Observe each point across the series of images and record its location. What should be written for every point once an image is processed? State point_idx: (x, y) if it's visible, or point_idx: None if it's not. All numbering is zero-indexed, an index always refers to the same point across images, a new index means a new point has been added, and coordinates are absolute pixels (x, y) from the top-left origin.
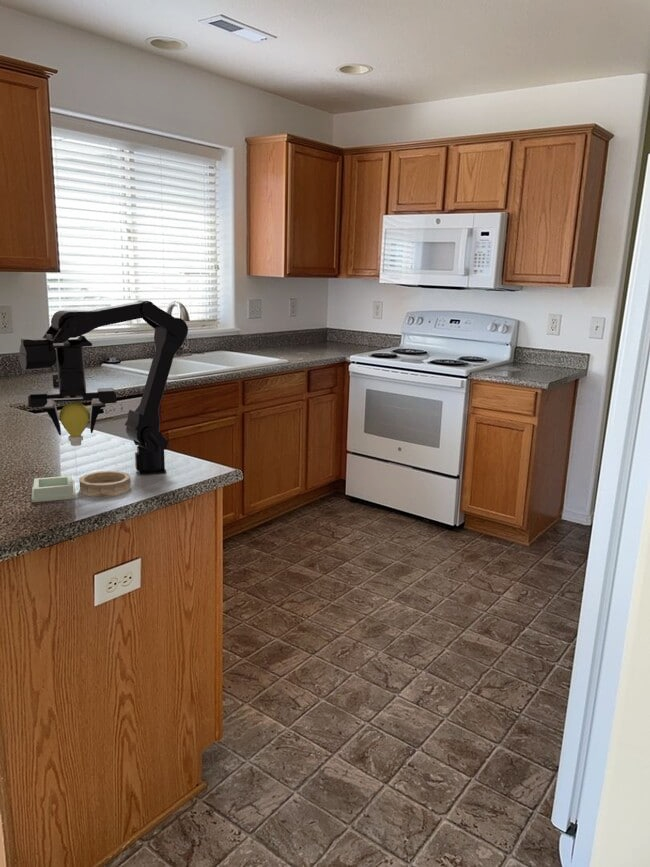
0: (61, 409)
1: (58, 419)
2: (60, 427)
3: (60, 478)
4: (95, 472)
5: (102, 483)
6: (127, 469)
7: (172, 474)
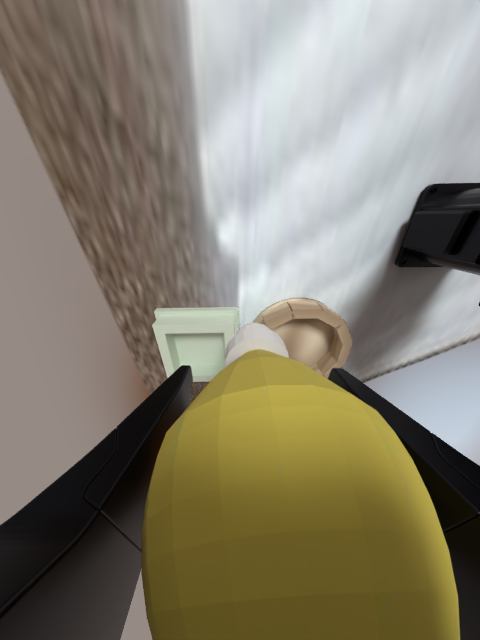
0: (146, 593)
1: (155, 462)
2: (180, 395)
3: (209, 331)
4: (288, 315)
5: (292, 327)
6: (395, 186)
7: (461, 277)
